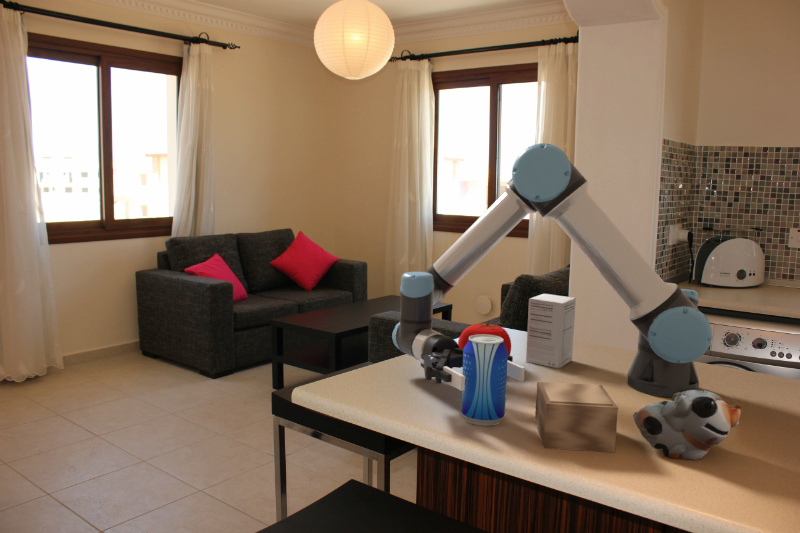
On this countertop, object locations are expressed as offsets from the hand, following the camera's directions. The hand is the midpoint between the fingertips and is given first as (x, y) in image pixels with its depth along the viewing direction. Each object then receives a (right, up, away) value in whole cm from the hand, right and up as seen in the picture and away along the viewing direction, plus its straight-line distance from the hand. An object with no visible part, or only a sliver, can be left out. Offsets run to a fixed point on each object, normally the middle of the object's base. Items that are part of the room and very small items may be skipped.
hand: (493, 378), depth 116 cm
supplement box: (+21, -4, +45) cm, 50 cm away
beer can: (-2, -9, +4) cm, 10 cm away
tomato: (+4, -4, +39) cm, 40 cm away
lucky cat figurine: (+32, -11, -7) cm, 35 cm away
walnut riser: (+14, -10, -3) cm, 17 cm away
